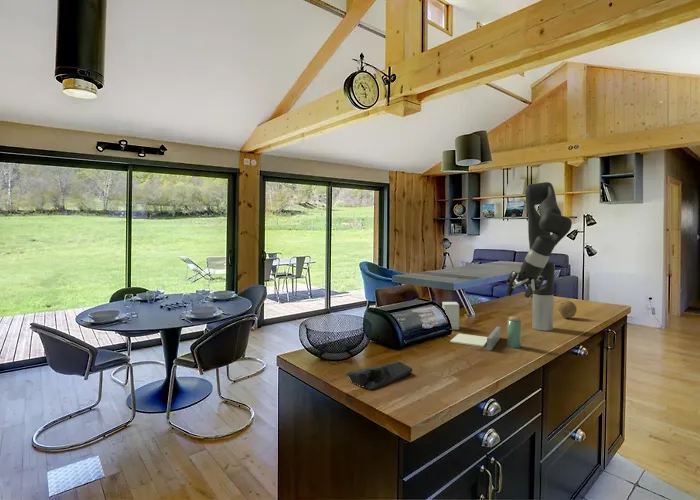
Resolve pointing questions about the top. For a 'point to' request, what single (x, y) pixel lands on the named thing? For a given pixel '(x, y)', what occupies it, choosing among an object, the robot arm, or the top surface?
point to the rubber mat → (470, 340)
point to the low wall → (493, 338)
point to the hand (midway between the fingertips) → (517, 295)
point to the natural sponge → (567, 309)
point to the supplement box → (452, 313)
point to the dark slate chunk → (379, 374)
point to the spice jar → (514, 332)
